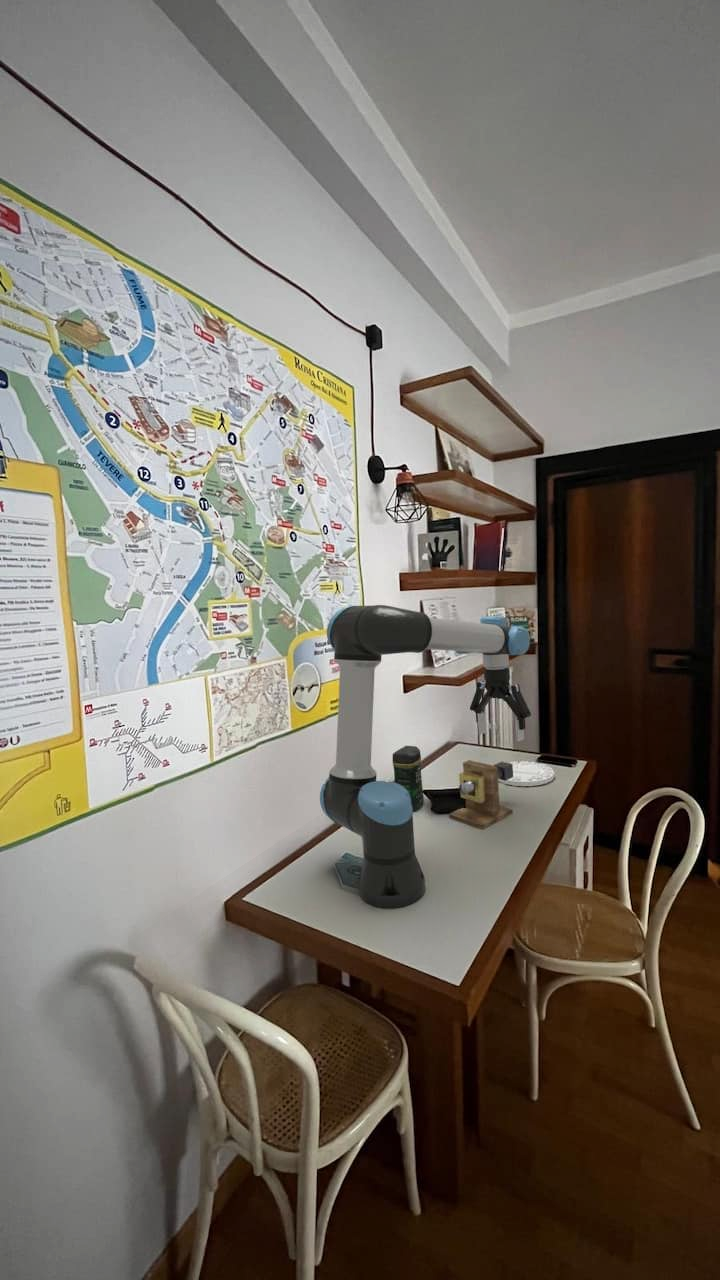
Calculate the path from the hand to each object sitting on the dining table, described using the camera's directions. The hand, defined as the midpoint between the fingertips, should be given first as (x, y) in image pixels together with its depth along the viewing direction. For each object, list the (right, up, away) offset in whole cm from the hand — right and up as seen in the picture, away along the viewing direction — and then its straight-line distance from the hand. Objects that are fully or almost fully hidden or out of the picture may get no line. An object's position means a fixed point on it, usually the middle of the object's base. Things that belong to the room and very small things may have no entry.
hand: (500, 736), depth 163 cm
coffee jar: (-27, -23, +5) cm, 36 cm away
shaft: (-5, -14, -4) cm, 15 cm away
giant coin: (+14, -18, +22) cm, 32 cm away
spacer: (-10, -13, -9) cm, 19 cm away
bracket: (-7, -22, -5) cm, 23 cm away
